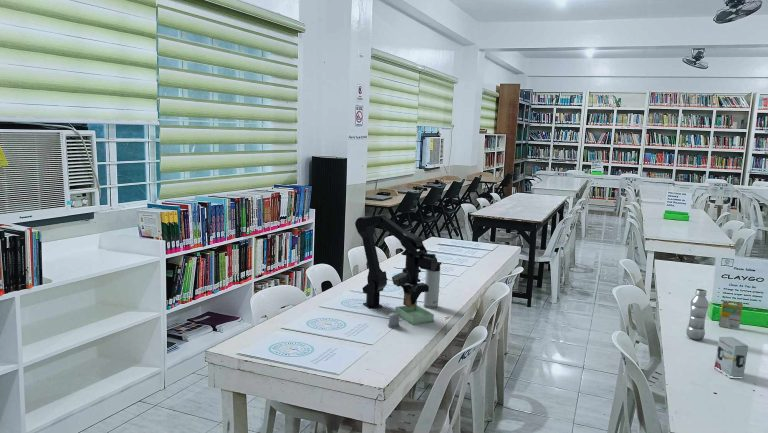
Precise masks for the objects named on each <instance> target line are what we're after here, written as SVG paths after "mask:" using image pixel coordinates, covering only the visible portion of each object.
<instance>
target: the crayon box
mask: <svg viewBox="0 0 768 433" xmlns="http://www.w3.org/2000/svg"><path fill="white" fill-rule="evenodd" d="M743 305H744V303H742V302H735V301H728V300H723V301H722V303H721V305H720V306H721V308H720V314H719V315H720V316H719V322H718V326H719V327H720V328H725V327H726V328H725V329H731V328H732V329H733V330H737V329H738V331H739V330H740V326H741V318H742V312H743Z"/></svg>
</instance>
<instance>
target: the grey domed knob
mask: <svg viewBox="0 0 768 433" xmlns="http://www.w3.org/2000/svg"><path fill="white" fill-rule="evenodd" d="M400 326H401V325H400V317H399V314H398V313H395V312H390V313H389V315H388V324H387V327H388V329H399V328H400Z"/></svg>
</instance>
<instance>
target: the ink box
mask: <svg viewBox="0 0 768 433" xmlns="http://www.w3.org/2000/svg"><path fill="white" fill-rule="evenodd" d="M716 349H717V350H716V356H715V361H714V367H717V368H719V369H720V370H722V371H723V372H725V373H726V374H728V375H729V376H733V377H743V378H744V374H745V369H746V365H747V364H746V362H747V357H748V352H749V345H748V344H746V343H745V342H742V341H741V340H739V339H738V338H736V337H734V336H719V337H718V343H717V348H716Z"/></svg>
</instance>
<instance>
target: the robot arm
mask: <svg viewBox="0 0 768 433" xmlns="http://www.w3.org/2000/svg"><path fill="white" fill-rule="evenodd" d="M354 225H355V226H354V227H355V229H356V231H357V233H358V235H359V236H360V237H361V239H362V243H363V248H364V254H365V258H366V263H367V267H368V273H367V279H366V280H367V283H366V285H364V286H363V287H362V293H363V294H365V296H366V297H365V302H362V305H363V306H365V307H367V308H368V309H375V308H382V307H383V305H382V304H381V303H380V296H381V294H380V292H383V291H384V290H385V287H386V286H387V284H388V280H389V279H388V278H387V271H385V270H384V271H383V270H382V268H381V267H380V262H379V258H378V256H379V255H378V252H377V246H376V243H375V238H374V234H375V229H376V228H375V227H376V225H378V226H380V227H381V228H382V229H384V230H385V231H386V232H388V233H389V234H391V235H392V236H393V237H395V238H396V239H397V240H398V241H399V243H400V245H401V246H402V248H404V251H402V252H401V253H400V254H401V256H405V267H404V268H402V272H399V273H397V274H395V275H393V276H392V277H391V280H392V283H393V285H394V286H396V287H399V288H402V291H403V294H404V293H408V292H411V304H412V305H414V304H415V302H416V300H417V301H418V299H419V297H420V295H421V294H422V293H425V292H429V286H428V285H427V284H425V282H421V279H420V278H419V275H420V274H419V273H422V270H424V271H426V270H430V271H435V270H436V268H437V265H438V262H439V261H438V258H437V257H436V256H437V255H436V254H435V253H428V250H427V249H426V246H425V245H424V242H423V239H422V238H421V237H420V236H418V235H417V234H414V233H413V232H409V231H407V230H405V229H403V227H401V226H400V225H399V224H397V223H395V222H394V221H393V220H392V219H390V218H389V217H388V216H387V215H386V214H383V213H382V214H376V215H374V216H370V215H366V216H362V217H358V218H356V220H355V222H354Z"/></svg>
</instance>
